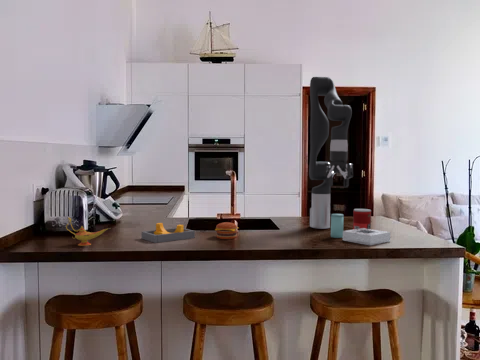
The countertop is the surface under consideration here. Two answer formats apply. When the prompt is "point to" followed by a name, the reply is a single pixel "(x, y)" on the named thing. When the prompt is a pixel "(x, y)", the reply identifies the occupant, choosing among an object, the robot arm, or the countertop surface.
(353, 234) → the housing
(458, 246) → the countertop surface
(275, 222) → the countertop surface
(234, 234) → the hamburger
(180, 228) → the pipe clamp
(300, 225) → the countertop surface
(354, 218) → the canned food
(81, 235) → the magic lamp
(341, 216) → the teal cylinder
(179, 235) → the tray
